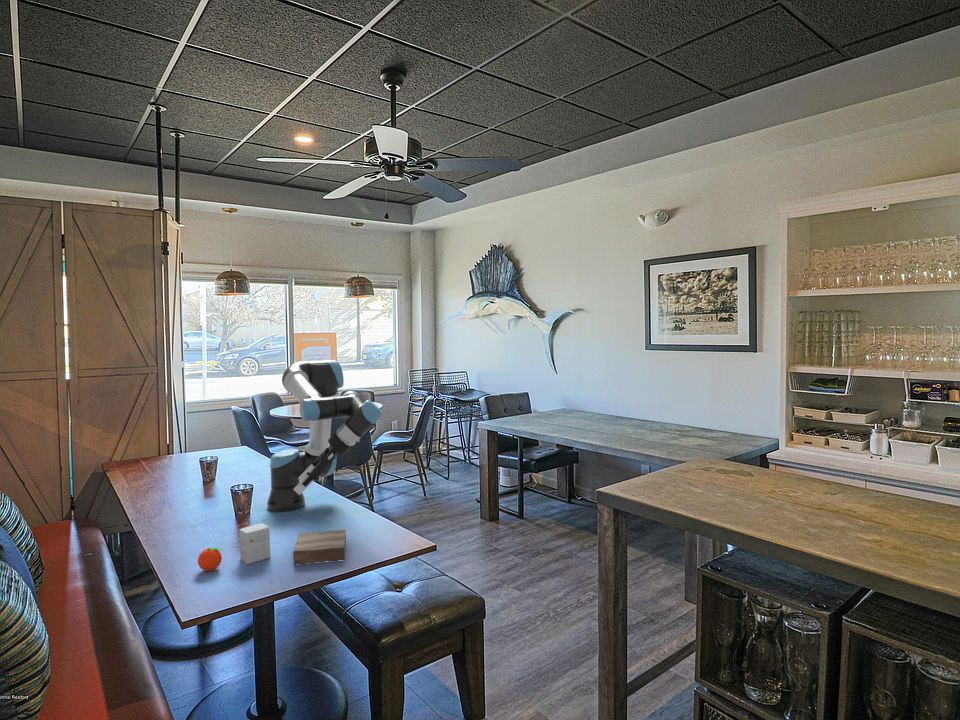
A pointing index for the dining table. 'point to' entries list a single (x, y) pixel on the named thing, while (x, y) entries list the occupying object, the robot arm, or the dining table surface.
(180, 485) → the dining table surface
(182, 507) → the dining table surface
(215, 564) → the clementine
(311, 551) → the walnut block
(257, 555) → the small box
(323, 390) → the robot arm
